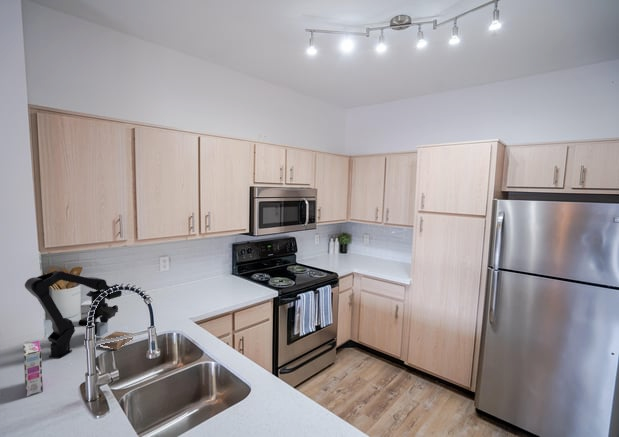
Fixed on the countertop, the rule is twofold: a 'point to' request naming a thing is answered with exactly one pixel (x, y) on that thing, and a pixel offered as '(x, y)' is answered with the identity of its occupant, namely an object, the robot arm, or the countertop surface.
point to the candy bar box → (33, 368)
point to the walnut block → (116, 344)
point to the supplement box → (86, 309)
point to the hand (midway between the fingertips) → (99, 331)
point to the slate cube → (102, 328)
